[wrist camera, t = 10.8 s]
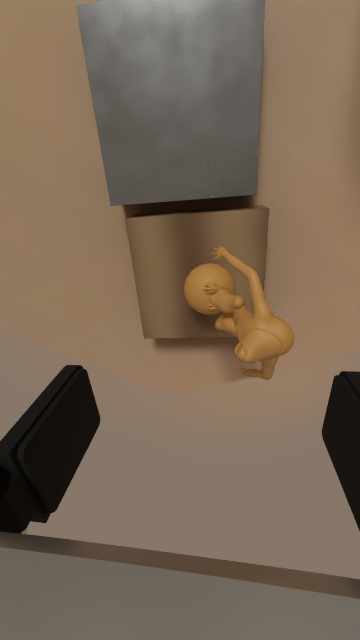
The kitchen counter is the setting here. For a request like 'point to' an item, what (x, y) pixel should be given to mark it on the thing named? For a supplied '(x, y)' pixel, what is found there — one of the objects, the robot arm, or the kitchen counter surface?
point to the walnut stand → (191, 263)
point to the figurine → (240, 313)
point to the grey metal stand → (175, 96)
